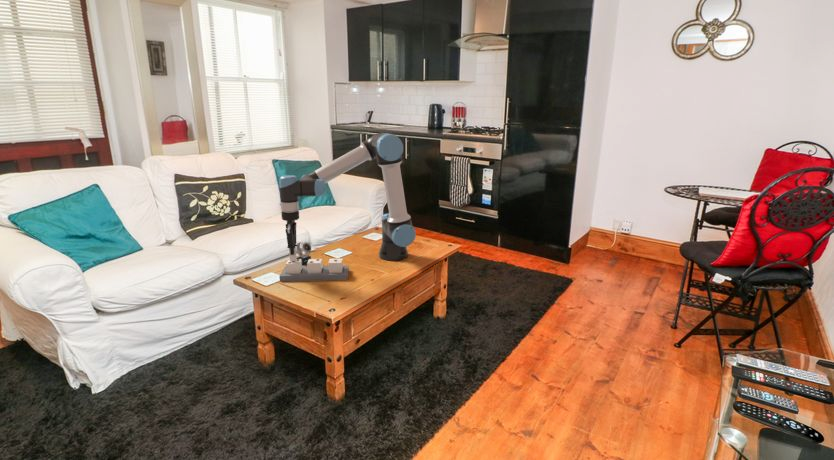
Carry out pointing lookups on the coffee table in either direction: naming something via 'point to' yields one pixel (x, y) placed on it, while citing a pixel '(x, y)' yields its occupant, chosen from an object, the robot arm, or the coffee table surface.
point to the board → (315, 275)
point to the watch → (306, 249)
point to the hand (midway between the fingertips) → (293, 260)
